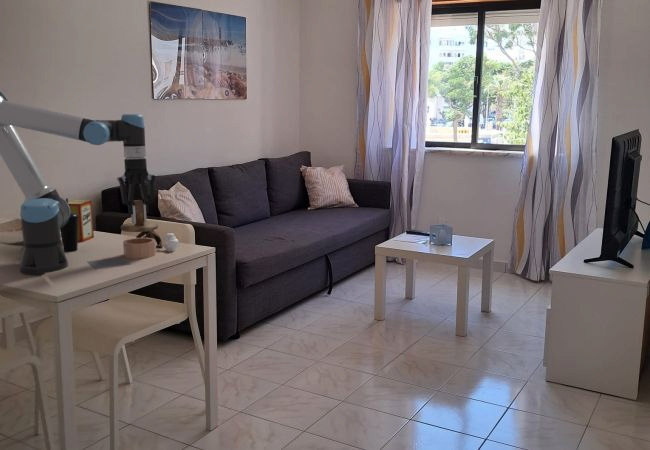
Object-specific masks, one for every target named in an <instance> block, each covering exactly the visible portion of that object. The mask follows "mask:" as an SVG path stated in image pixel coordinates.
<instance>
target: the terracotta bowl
mask: <svg viewBox="0 0 650 450" xmlns="http://www.w3.org/2000/svg"><path fill="white" fill-rule="evenodd" d="M122 242H123V244H122V245H123V257H125V258H127V259H133V260H134V259H135V260H137V259H147V258H153V257H155V256H156V255H157V243H156V240H155V239H153V238H143V237H141V238H136V237H134V238H128V239H125V240H124V241H122Z"/></svg>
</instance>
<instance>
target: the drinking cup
mask: <svg viewBox="0 0 650 450" xmlns="http://www.w3.org/2000/svg"><path fill="white" fill-rule="evenodd" d="M68 199H69V198H67V197H66V198H65V201H66V202H67V203H68V202H69V200H68ZM78 216H79V214H76V213H74V212H70V217H69V220H68V222H67V224H66V225H65V226H64V227H62V228H60V237H61V244H62V249H63V251H64V252H67V253H68V252H75V251H78V242H77V241H78Z"/></svg>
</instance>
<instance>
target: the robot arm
mask: <svg viewBox="0 0 650 450" xmlns="http://www.w3.org/2000/svg"><path fill="white" fill-rule="evenodd" d="M145 127H146V126H145V121H144V116H143V115H142V114H141V113H130V114H129V113H126V114H121V119H116V120H115V119H113V120H112V119H110V120H109V119H108V120H107V119H91V118H90V119H89V118H84V117H80V116H76V115H70V114H67V113H63V112H58V111H53V110H48V109H45V108H42V107H41V108H40V107H36V106H32V105H29V104H23V103H19V102H14V101H11V100H10V101H9V100H8V98H7V96H6V94H4V93H3V91H1V90H0V157H1V159H2V160H3V162H4V164H5V165H6V167H7V169H8V170H9V172H10V174H11V176H12V177H13V179H14V180H15V183H16V184H17V186H18V187H19V189H20V191H21V192H22V194H23V196H24V202H23V203H22V204H21V205H20V211H19V214H20V221H21V230H22V231H21V232H22V241H23V242H22V243H23V251H22V255H21V258H20V261H19V272H20V273H21V274H25V275H34V276H35V275H38V276H39V275H46V273H52V272H57V271H62V270H64V269H67V267H69V262H68V258H67V256H66V254H65V251H64V249H63V246H62V237H61V231H60V228H62V227H64V226H65V225H66V224H67V222H68V220H69V217H70V207H69V205H68V203H67V202H66V199H64V198H63V197H61V196H60V195H59V192H58V191H57V189H56V187H53V186H50V185H49V184H48V182H47V181H46V180H45V178H44V176H43V174H42V172H41V171H40V169H39V166H37V164H36V162H35V160H34V158H33V157H32V155H31V153H30V152H29V150H28V148H27V146H26V144H25V143H24V140H23V139H22V137H21V135H20V134H19V132H18V130H17V129H16V128H21V129H26V130H31V131H35V132H40V133H44V134H48V135H53V136H58V137H63V138H68V139H72V140H77V141H82V142H85V143H88V144H91V145H95V146H101V145H103V144H105V143H108V142H109V143H110V142H111V143H112V142H122V143H123V157H124V158H125V159H124V160H123V161H124V172H123V175H121V176H118V177H117V178H116V180H117V182H118V183H119V188H120V189H119V191H120V195H121V203H122V204H123V205H126V206H127V209H128V210H127V211H128V214H129V215H130V216H131V217H130V219H131V223H133V224H136V213H135V206H134V203H133V201H134V195H135V188H136V185H137V184H138V186H139V189H140V195H141V200H143V216H144V223H147V222H148V221H147V214H148V213H149V204H151V203H153V202H154V186H155V185H154V184H155V183H154V182H155V179H156V175H154V174H151V173H149V171H148V169H147V166H148V165H147V159H146V156H147V153H146V152H147V151H146V150H147V149H146V136H145V135H146V132H145V130H146V129H145ZM146 179H147V183H148V184H147V190H146V183H145V181H146ZM126 180H127V181H128V195H127V189H126V183H125V182H126Z"/></svg>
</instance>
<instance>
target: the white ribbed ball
mask: <svg viewBox="0 0 650 450" xmlns="http://www.w3.org/2000/svg"><path fill="white" fill-rule="evenodd" d="M161 241H162V244H163V248H164V249H165V251H166V252H174V251H176V249H177V247H178V244H179V239H177V237H176V235H175V234H174V233H172V232H168V233H166V234H165V235H164V237H163V239H161Z"/></svg>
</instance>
